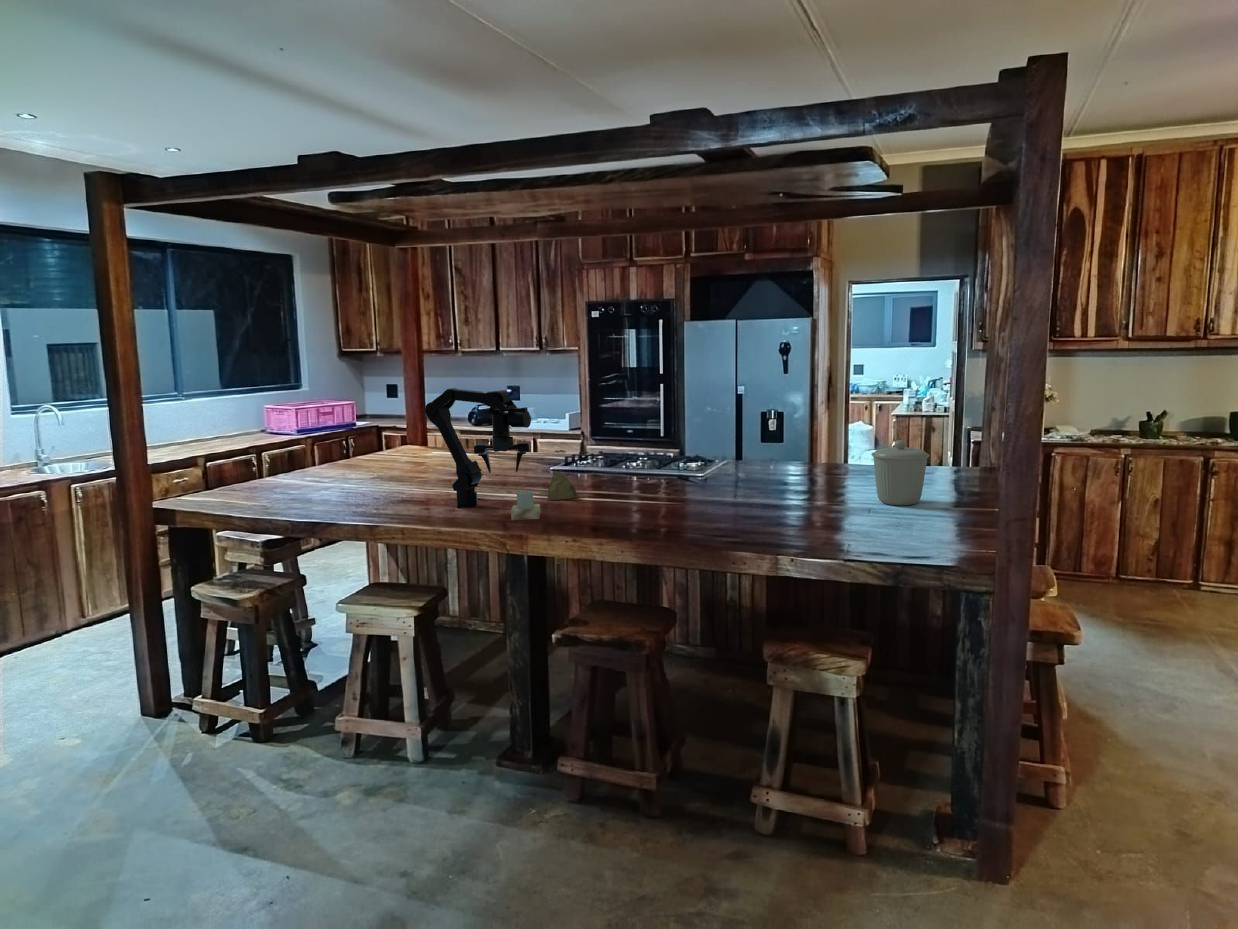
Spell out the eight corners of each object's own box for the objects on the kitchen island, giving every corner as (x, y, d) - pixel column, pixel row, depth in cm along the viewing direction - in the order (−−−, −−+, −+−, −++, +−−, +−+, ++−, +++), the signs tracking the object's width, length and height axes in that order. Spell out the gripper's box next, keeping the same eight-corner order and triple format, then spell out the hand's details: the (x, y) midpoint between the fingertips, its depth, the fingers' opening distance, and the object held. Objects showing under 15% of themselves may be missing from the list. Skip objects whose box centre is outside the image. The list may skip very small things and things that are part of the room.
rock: (583, 489, 297) (559, 484, 301) (579, 474, 291) (554, 469, 295) (571, 511, 291) (547, 506, 295) (566, 496, 285) (541, 491, 289)
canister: (932, 509, 259) (934, 443, 256) (873, 508, 263) (874, 444, 259) (923, 497, 276) (924, 436, 273) (867, 497, 280) (869, 436, 277)
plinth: (511, 520, 262) (511, 510, 261) (513, 514, 271) (513, 505, 270) (539, 518, 262) (539, 509, 262) (540, 512, 271) (540, 504, 271)
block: (517, 509, 263) (516, 494, 263) (518, 506, 268) (517, 491, 268) (532, 508, 264) (532, 493, 263) (533, 505, 269) (532, 490, 268)
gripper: (470, 431, 268) (473, 477, 270) (527, 429, 269) (529, 475, 271) (474, 427, 279) (477, 472, 281) (528, 425, 280) (531, 469, 282)
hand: (503, 472), depth 279 cm, fingers open, 9 cm apart
